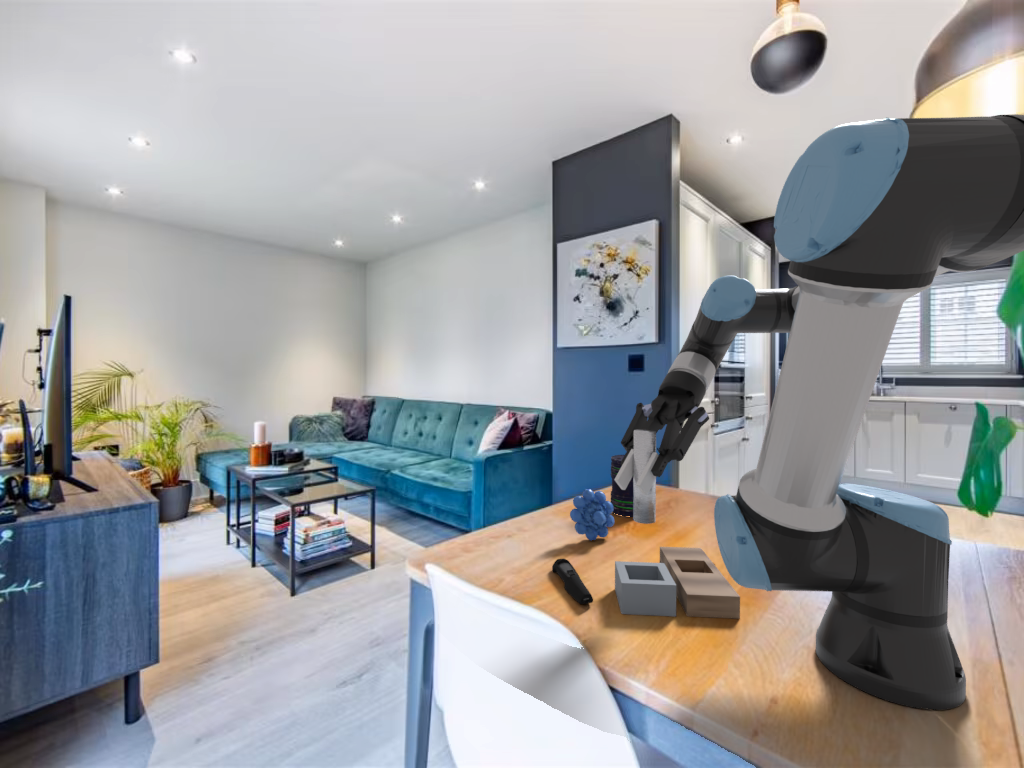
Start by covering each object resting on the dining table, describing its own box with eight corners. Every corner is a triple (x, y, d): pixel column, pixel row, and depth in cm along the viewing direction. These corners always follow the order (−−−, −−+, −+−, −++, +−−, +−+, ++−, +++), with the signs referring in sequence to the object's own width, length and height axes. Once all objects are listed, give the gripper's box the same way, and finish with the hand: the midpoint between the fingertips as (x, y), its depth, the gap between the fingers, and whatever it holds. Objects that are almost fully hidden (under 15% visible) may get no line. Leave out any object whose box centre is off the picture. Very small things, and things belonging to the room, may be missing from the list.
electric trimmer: (576, 613, 76) (576, 594, 76) (550, 571, 91) (550, 555, 91) (598, 611, 77) (598, 592, 76) (569, 569, 92) (569, 554, 92)
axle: (657, 524, 76) (658, 432, 76) (635, 523, 76) (635, 432, 76) (653, 517, 80) (653, 429, 79) (631, 516, 80) (632, 429, 80)
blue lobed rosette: (580, 551, 100) (580, 495, 100) (564, 540, 107) (565, 488, 106) (625, 543, 105) (625, 490, 105) (607, 533, 111) (607, 483, 111)
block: (676, 616, 74) (676, 585, 74) (621, 613, 75) (621, 583, 74) (663, 591, 82) (664, 563, 82) (614, 588, 83) (615, 561, 83)
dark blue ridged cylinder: (640, 506, 133) (641, 454, 132) (653, 517, 123) (653, 461, 123) (606, 507, 132) (606, 454, 132) (616, 518, 122) (616, 461, 122)
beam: (739, 618, 73) (740, 596, 73) (687, 616, 74) (687, 594, 74) (700, 565, 93) (701, 547, 93) (659, 563, 94) (659, 546, 94)
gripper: (738, 398, 81) (686, 512, 71) (655, 395, 94) (600, 490, 84) (724, 368, 77) (667, 483, 67) (639, 368, 90) (580, 465, 80)
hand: (630, 487), depth 75 cm, fingers closed on axle, 3 cm apart
